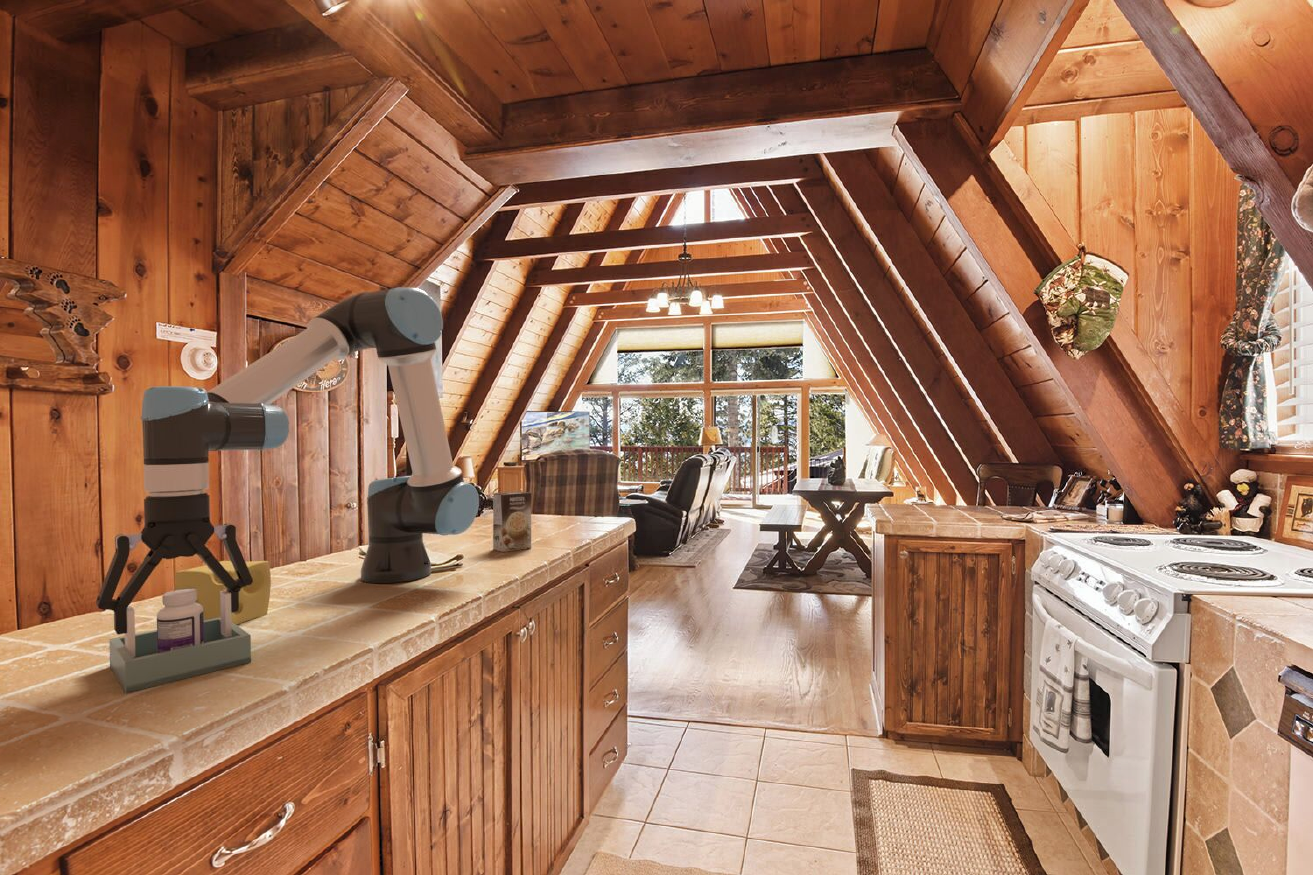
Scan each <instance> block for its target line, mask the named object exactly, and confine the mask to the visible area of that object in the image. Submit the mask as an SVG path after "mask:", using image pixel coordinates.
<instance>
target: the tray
mask: <svg viewBox="0 0 1313 875" xmlns="http://www.w3.org/2000/svg"><path fill="white" fill-rule="evenodd" d="M231 623H232V636H230V637H225V636H224V635H222V634H221V617H220V618H215V619H210V620H205V621H204V643H203V644H199V645H194V646H189V647H185V648H180V649H176V650H171V651H166V652H162V653H158V642H157V629H155V630H154V629H153V630H149V631H144V632H143V631H142V632H138V633H135V657H132V655H131V654H130V652H129V651H128V650H127V648H126V647H125V635H123V636H117V637H114V638H113V637H112V638H109V639H108V640H109V668H110V669H111V671H112V672H113V675H114V676H115V678H116V679H117V681H118V683H119V684H120V686H121V688H122V689H123V690H124V692H125V694H129V693H133V692H136V691H141V690H144V689H147V688H148V689H150V688H152V687H157V686H161V685H165V684H168V683H172V682H177V681H181V680H186V679H189V678H193V677H197V676H202V675H206V674H209V673H213V672H218V671H222V670H226V669H230V668H234V667H236V666H242V665H245V664H249V663H250V664H251V662H252V642H251V636H252V635H251V634H250V633H249V632H247V631H245V630H244V629H242V628H241V627H240V626H238V624H237V625H236V624H234V623H233V622H231Z"/></svg>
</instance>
